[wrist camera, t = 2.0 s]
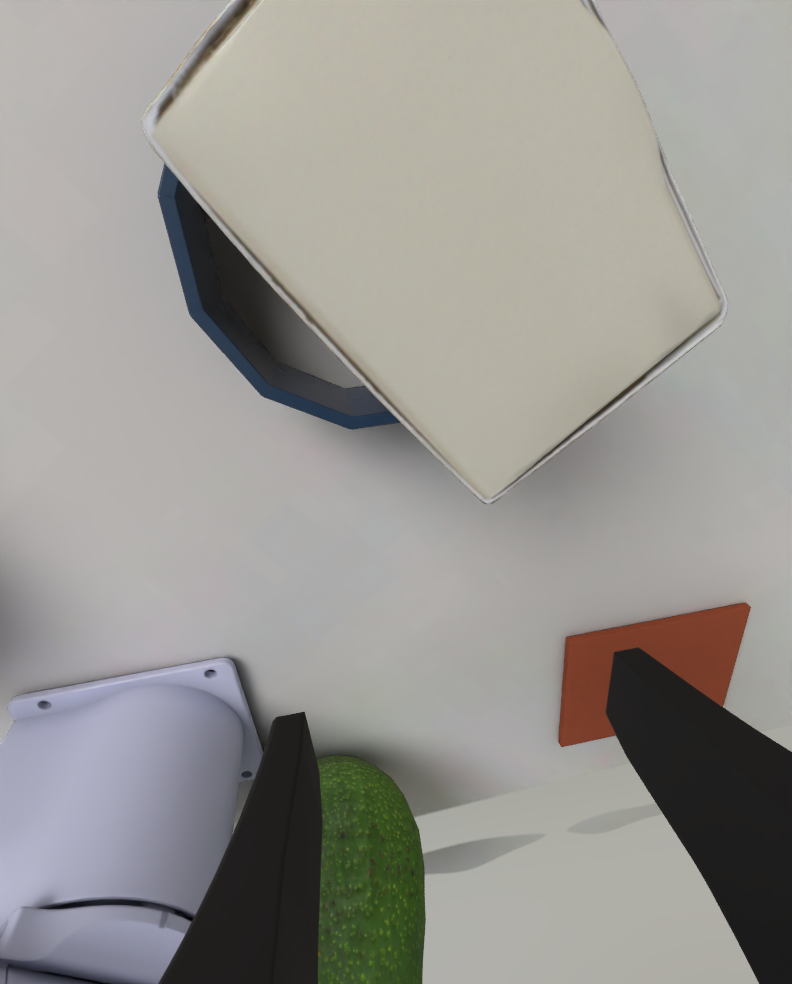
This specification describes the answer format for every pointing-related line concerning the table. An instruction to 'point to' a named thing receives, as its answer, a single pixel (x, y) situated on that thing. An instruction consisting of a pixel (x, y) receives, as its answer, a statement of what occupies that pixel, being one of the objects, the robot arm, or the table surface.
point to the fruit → (368, 878)
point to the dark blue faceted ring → (236, 338)
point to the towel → (672, 641)
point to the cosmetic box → (449, 209)
